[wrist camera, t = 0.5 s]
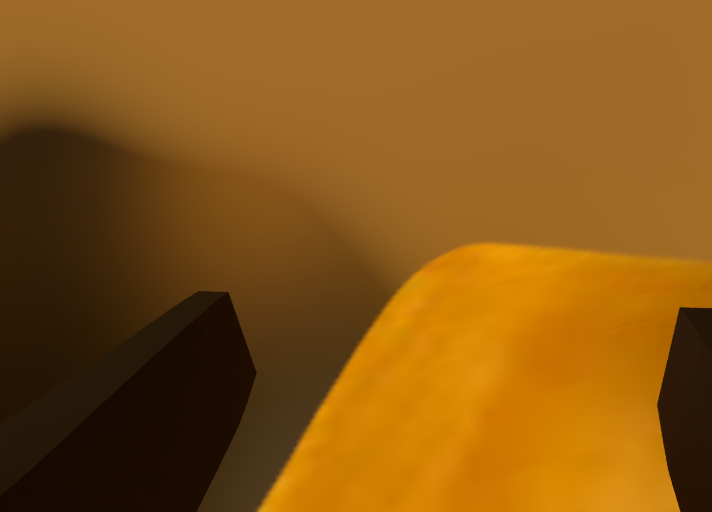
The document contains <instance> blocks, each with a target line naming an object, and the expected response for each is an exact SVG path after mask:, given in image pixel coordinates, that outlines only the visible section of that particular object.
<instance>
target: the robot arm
mask: <svg viewBox="0 0 712 512" xmlns="http://www.w3.org/2000/svg"><path fill="white" fill-rule="evenodd" d="M255 377H256V370H255V367H254V364H253V361H252V358H251V356H250V353H249V350H248V347H247V344H246V341H245V339H244V336H243V333H242V330H241V327H240V324H239V321H238V318H237V316H236V313H235V310H234V307H233V304H232V301H231V298H230V295H229V293H228V292H208V291H198V292H197V293H195V294H193V295H192V296H190V297H189V298H187V299H185V300H183V301H182V302H180V303H179V304H178V305H176V306H175V307H173V308H172V309H170V310H169V311H167V312H166V313H164V314H163V315H162V316H160V317H159V318H157V319H156V320H154V321H153V322H152V323H150V324H149V325H147V326H146V327H144V328H143V329H142V330H140V331H139V332H137V333H136V334H135V335H133V336H132V337H130V338H129V339H127V340H126V341H125V342H123V343H122V344H120V345H119V346H118V347H116V348H115V349H113V350H112V351H110V352H109V353H108V354H106V355H105V356H103V357H102V358H100V359H99V360H98V361H96V362H95V363H93V364H92V365H90V366H89V367H88V368H86V369H85V370H83V371H81V372H80V373H79V374H77V375H76V376H74V377H73V378H71V379H70V380H68V381H66V382H65V383H63V384H62V385H60V386H59V387H57V388H56V389H54V390H53V391H51V392H50V393H48V394H47V395H45V396H44V397H42V398H41V399H39V400H37V401H36V402H34V403H33V404H32V405H30V406H29V407H27V408H25V409H24V410H22V411H21V412H19V413H17V414H15V415H14V416H12V417H11V418H9V419H7V420H6V421H4V422H2V423H1V424H0V512H196V511H197V510H198V508H199V506H200V504H201V502H202V500H203V498H204V496H205V494H206V492H207V490H208V487H209V485H210V483H211V482H212V480H213V478H214V476H215V474H216V471H217V470H218V468H219V465H220V464H221V461H222V459H223V457H224V455H225V453H226V451H227V449H228V447H229V445H230V443H231V441H232V439H233V437H234V435H235V433H236V430H237V428H238V426H239V424H240V421H241V418H242V416H243V413H244V410H245V407H246V405H247V402H248V399H249V396H250V392H251V389H252V386H253V383H254V380H255ZM657 406H658V412H659V419H660V425H661V431H662V438H663V443H664V449H665V455H666V460H667V466H668V471H669V474H670V478H671V481H672V485H673V488H674V492H675V495H676V498H677V502H678V505H679V508H680V512H712V308H683V307H680V309H679V313H678V317H677V322H676V326H675V330H674V334H673V339H672V343H671V347H670V352H669V356H668V360H667V365H666V369H665V373H664V378H663V382H662V386H661V391H660V395H659V399H658V404H657Z"/></svg>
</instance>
